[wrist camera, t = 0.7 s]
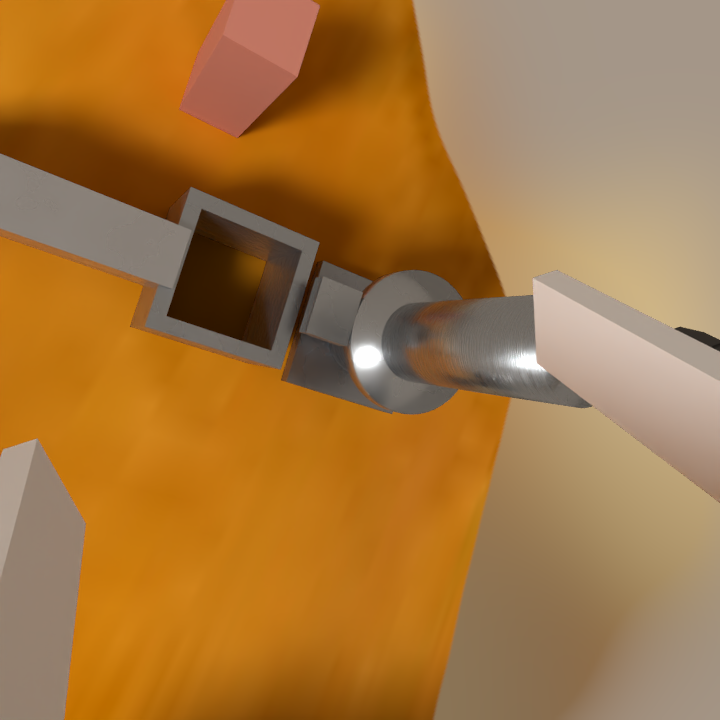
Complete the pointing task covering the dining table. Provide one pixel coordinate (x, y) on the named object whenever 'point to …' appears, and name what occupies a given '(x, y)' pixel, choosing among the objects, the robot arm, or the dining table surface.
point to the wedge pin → (248, 60)
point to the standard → (415, 343)
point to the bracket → (162, 253)
